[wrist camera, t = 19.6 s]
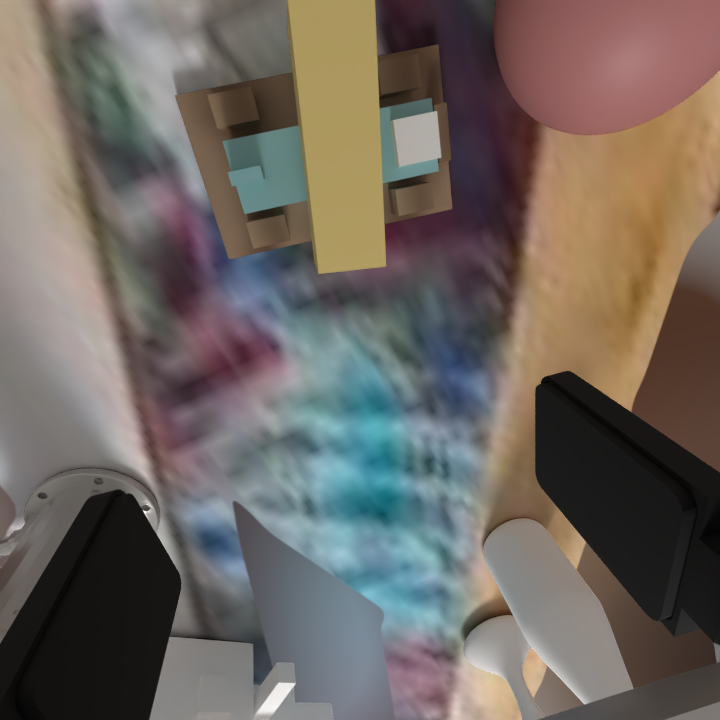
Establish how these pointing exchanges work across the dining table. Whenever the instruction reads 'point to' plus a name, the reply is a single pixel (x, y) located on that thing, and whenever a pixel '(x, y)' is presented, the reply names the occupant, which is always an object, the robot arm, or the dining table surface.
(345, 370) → the dining table surface
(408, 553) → the dining table surface
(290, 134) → the teal notched block
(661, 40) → the balloon
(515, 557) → the wine bottle
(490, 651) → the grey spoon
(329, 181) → the tan wooden bar
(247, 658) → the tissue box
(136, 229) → the dining table surface
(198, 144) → the jig
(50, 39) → the dining table surface
